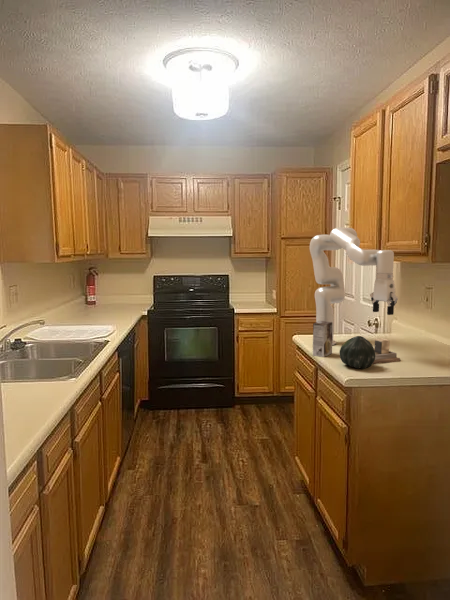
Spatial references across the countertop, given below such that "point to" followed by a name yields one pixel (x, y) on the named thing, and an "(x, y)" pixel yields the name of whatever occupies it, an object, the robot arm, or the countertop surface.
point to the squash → (357, 352)
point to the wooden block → (381, 346)
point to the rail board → (386, 358)
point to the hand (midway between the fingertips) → (382, 313)
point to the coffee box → (322, 338)
